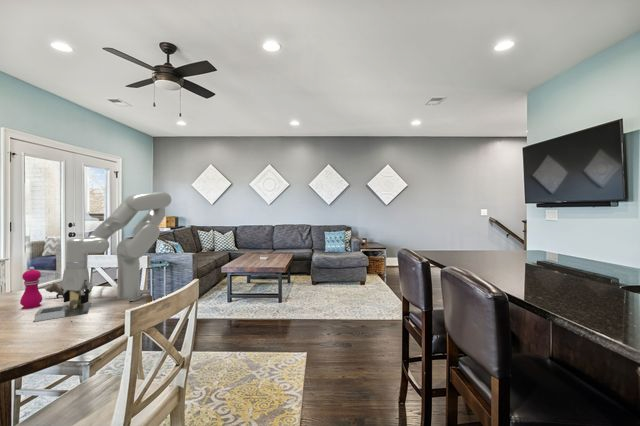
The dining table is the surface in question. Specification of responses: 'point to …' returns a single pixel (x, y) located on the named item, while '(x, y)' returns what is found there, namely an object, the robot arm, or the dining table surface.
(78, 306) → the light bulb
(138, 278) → the robot arm
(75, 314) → the plate
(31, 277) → the pepper mill
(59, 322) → the dining table surface
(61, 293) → the rhinoceros figurine
